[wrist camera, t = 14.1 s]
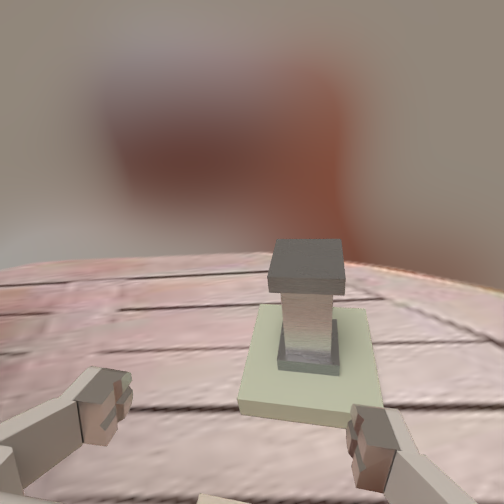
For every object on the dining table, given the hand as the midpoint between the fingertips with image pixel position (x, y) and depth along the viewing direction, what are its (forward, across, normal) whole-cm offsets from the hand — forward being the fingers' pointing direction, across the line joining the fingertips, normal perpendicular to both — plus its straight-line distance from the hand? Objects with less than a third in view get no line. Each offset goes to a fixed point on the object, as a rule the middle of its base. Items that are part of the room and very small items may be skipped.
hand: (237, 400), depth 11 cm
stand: (+17, -5, +12) cm, 21 cm away
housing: (+17, -5, +9) cm, 20 cm away
